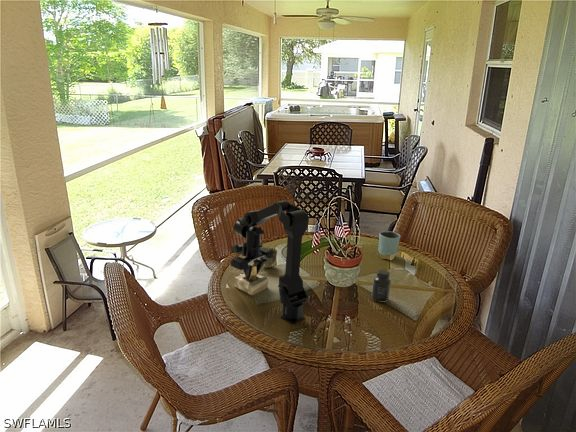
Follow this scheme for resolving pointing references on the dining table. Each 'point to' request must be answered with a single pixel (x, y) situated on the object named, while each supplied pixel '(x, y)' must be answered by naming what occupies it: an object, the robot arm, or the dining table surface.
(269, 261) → the cup
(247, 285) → the jig
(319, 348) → the dining table surface
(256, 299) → the dining table surface
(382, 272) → the supplement bottle
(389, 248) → the teal plant pot
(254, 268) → the gold metal cylinder
